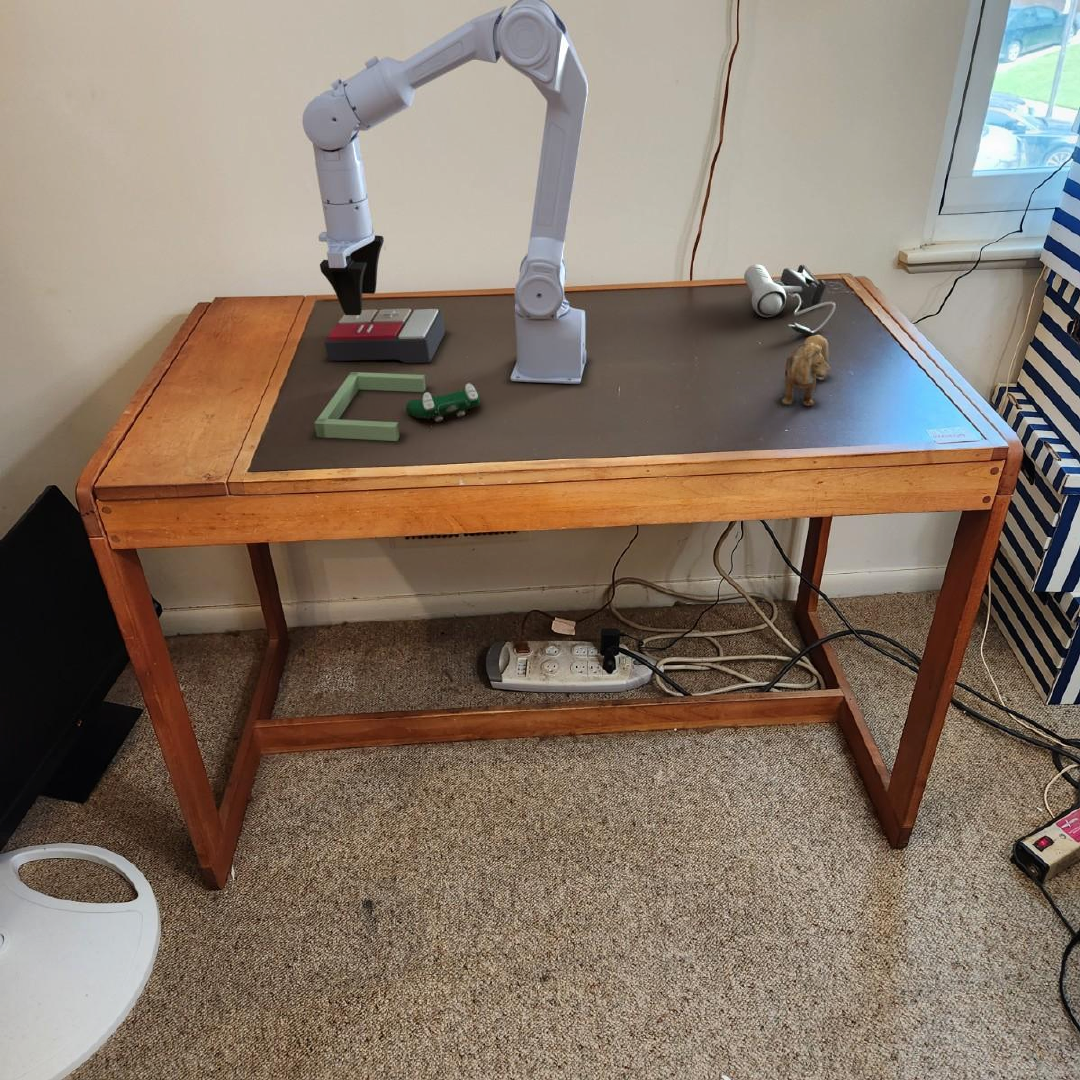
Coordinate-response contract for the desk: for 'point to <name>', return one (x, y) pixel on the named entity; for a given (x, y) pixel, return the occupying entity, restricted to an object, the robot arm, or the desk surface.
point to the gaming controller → (444, 404)
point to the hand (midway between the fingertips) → (360, 303)
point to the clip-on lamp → (773, 297)
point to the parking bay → (365, 430)
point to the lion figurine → (806, 368)
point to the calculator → (387, 336)
